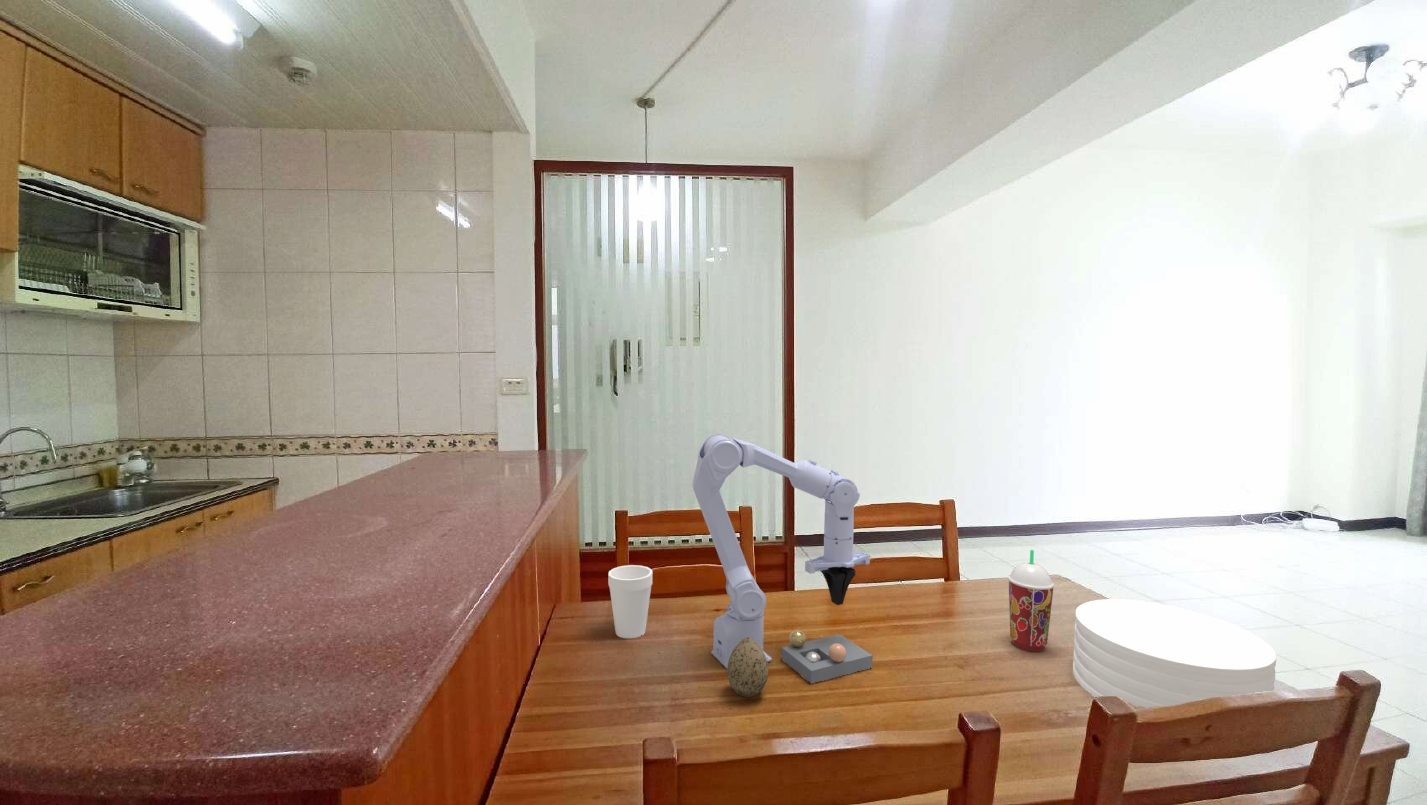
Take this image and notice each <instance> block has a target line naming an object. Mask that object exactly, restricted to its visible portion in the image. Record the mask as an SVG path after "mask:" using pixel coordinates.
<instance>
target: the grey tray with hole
mask: <svg viewBox="0 0 1427 805" xmlns="http://www.w3.org/2000/svg"><path fill="white" fill-rule="evenodd" d="M836 643H838V644H841V645H842V646H844V648H845V650H846V657H845V659H844V660H843V661H841V662H835V661H833V660H832V659H831V658H830V656H829V648H830V647H831V645H833V644H836ZM809 652H816V653H818V654H819V655H820V657H821V661H819V662H815V663H811V662H810V661H809V660H807V659H806V658H805V656H806V654H807V653H809ZM873 657H874V656H873V654H872V653H870V652H868V651H867V650H865V649H864V648H862V647H860V646H858V645H857V644H856V643H854V642H853V641H851V640H850V639H849V638H846V637H845V636H844V635H842V634H841V633H838V634H833V635H830V636H825V637H821V638H817V639H812V640H808V641H807V640H806V642H805V644H804V645H803V646H801V647H795V646H793V645H792V644H791V645H786V646H782V647H781V657H780V658H781V659H782V660H784V661H785V662H786V663H787V664H788V665H790V666H791V667H792V668H793V669H794V670H796V671H797V672H798V673H799V674H800V675H802V676H803V677H804V678H805V679H806V680H807V681H806V680H805V679H804V678H803V677H802V676H801V677H802V678H803V679H804V680H805V681H806V682H808V681H809V682H810V683H814V684H816V683H815V682H818V681H822V682H825V681H824V680H826V681H828V680H827V679H830V680H832V679H831V678H833V679H836V678H835V677H837V678H839V677H838V676H841V675H845V676H848V675H852V674H855V673H854V672H856V673H858V672H857V671H860V670H864V671H867V670H870V668H871V669H873ZM782 660H781V661H782ZM784 661H783V662H784ZM785 662H784V663H785ZM786 663H785V664H786ZM787 664H786V665H787ZM788 665H787V666H788ZM790 666H789V667H790ZM791 667H790V668H791ZM792 668H791V669H792ZM793 669H792V670H793ZM794 670H793V671H794ZM796 671H795V672H796ZM797 672H796V673H797ZM860 672H861V671H860ZM798 673H797V674H798ZM851 673H852V674H851ZM799 674H798V675H799ZM847 674H848V675H847ZM800 675H799V676H800ZM841 677H842V676H841ZM809 682H808V683H809ZM810 683H809V684H810ZM818 683H819V682H818Z"/></svg>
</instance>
